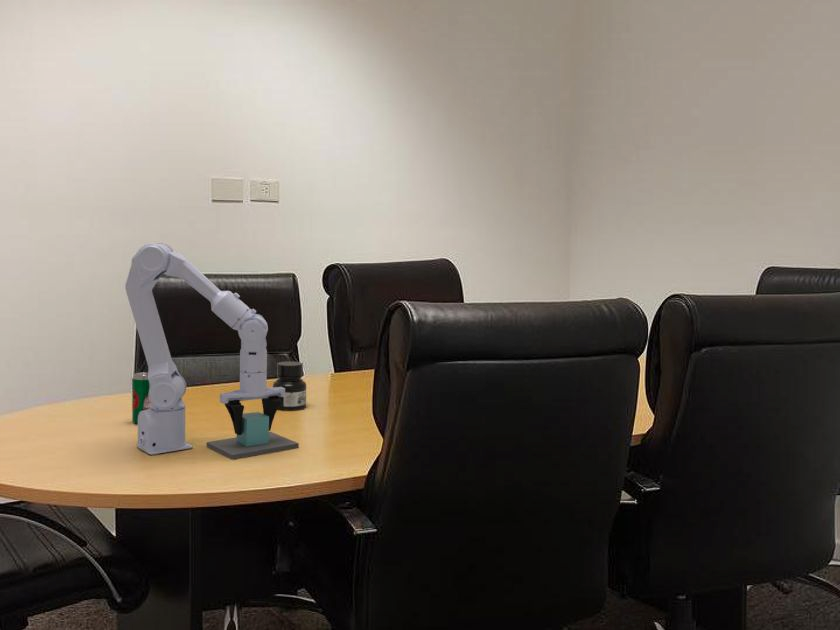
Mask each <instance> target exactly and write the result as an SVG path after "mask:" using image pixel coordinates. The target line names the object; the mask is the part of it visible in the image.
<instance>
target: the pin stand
mask: <svg viewBox="0 0 840 630" xmlns="http://www.w3.org/2000/svg"><path fill="white" fill-rule="evenodd" d="M299 444H300V443H299V442H296V441H294V440H292V439H289V438H287V437H285V436H282V435H280V434H277V433H276V432H272V431H269V443H267V444H261V445H254V446H248V447H246V446H245V445H243V444H241V443H239V442H237V436H236V437H230V438H224V439H218V440H211V441H207V442H206V448H207V449H208V448H209V449H210V450H213V451H214V452H216V453H218V454H221V456H225V457H226V458H229V459H230V460H232V459H234V460H237V459H238V458H239V459H243V457H244V458H249V457H255V456H261V455H266V454H271V453H277V452H282V451H287V450H293V449H298V448H299Z"/></svg>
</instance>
